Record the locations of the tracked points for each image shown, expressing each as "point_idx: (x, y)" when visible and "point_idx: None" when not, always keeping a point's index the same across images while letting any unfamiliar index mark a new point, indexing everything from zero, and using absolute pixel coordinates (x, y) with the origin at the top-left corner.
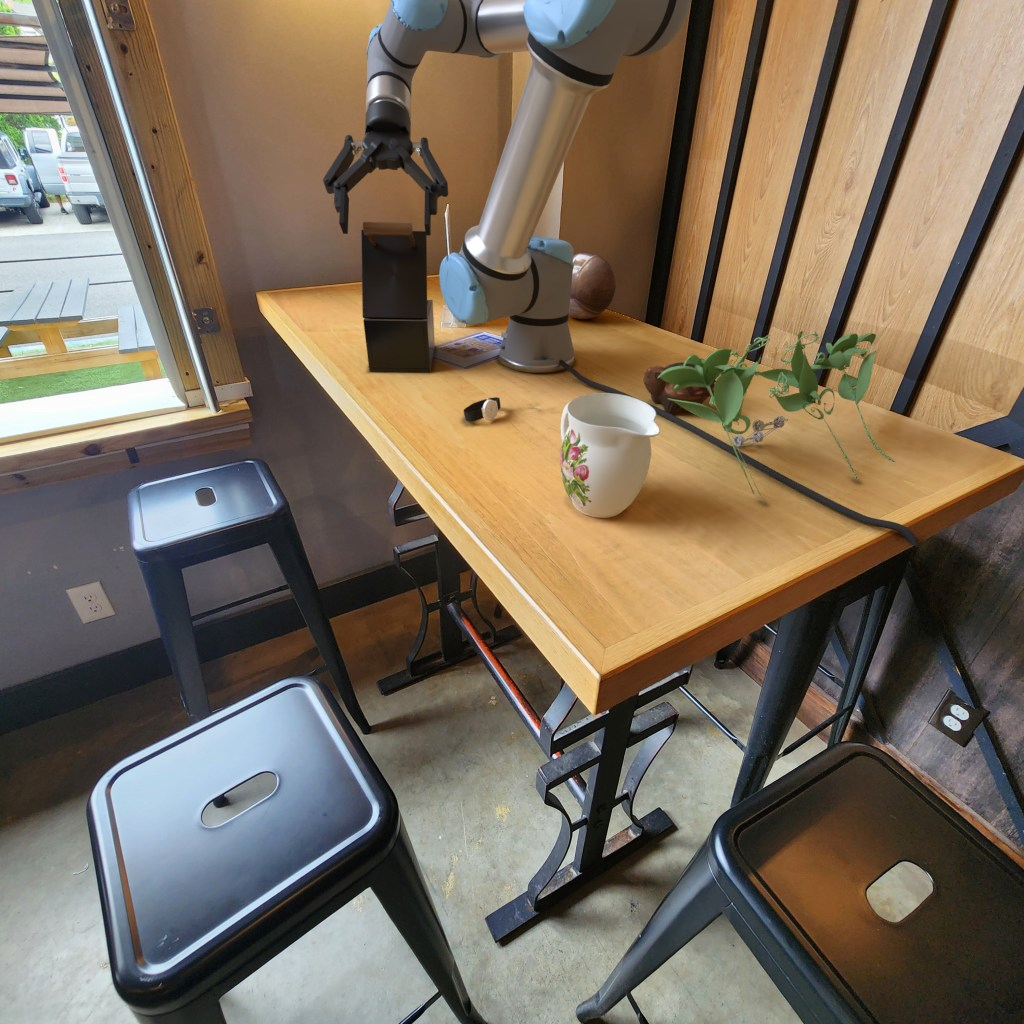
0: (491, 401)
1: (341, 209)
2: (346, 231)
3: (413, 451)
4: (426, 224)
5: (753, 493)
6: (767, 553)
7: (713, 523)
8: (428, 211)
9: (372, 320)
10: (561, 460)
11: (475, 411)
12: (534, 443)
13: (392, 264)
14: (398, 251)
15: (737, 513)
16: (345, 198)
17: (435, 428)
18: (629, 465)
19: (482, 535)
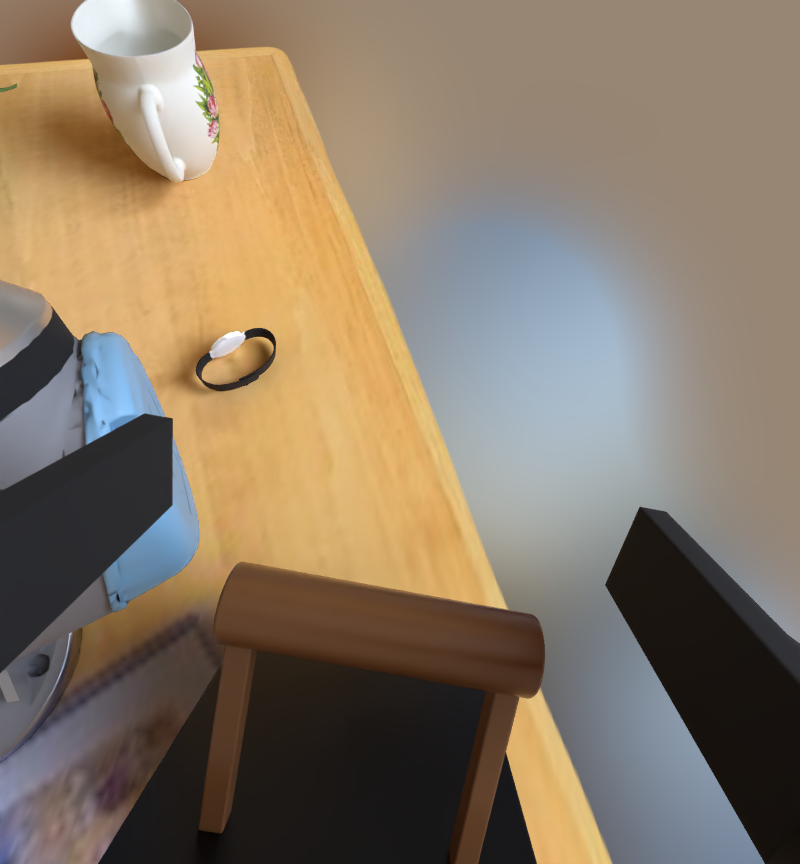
0: (220, 339)
1: (709, 564)
2: (614, 569)
3: (370, 293)
4: (159, 417)
5: (16, 86)
6: (71, 79)
7: (84, 115)
8: (85, 449)
9: None
10: (214, 107)
11: (258, 328)
12: (193, 278)
13: (360, 739)
14: (318, 794)
15: (43, 119)
16: (755, 666)
17: (329, 346)
18: (156, 47)
19: (322, 151)
